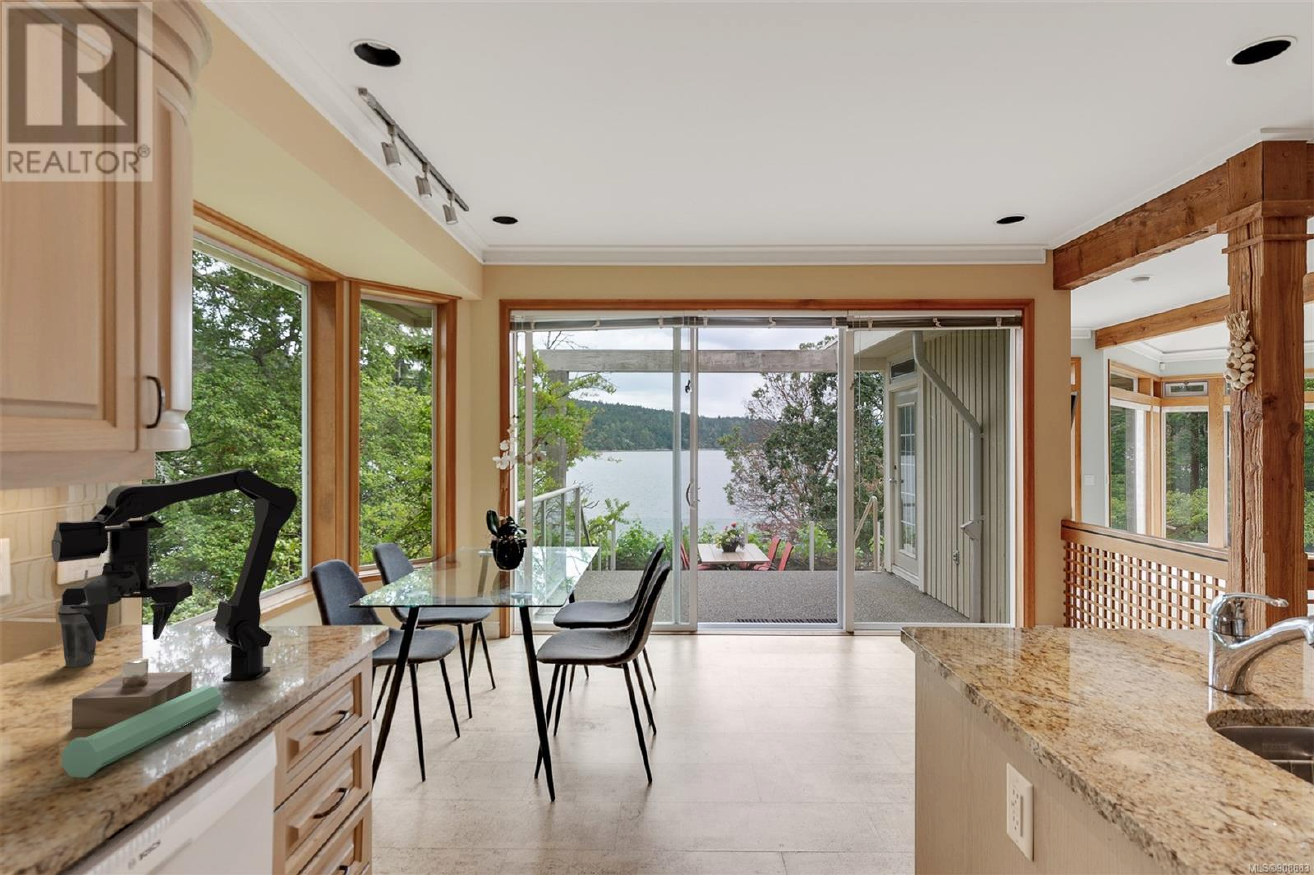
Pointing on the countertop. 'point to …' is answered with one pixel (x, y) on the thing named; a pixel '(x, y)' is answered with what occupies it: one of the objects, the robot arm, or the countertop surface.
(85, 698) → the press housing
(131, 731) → the mint green octagonal rod
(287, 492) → the robot arm
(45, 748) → the countertop surface
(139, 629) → the countertop surface
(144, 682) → the silver metal peg
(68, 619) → the beverage cup
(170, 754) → the countertop surface
